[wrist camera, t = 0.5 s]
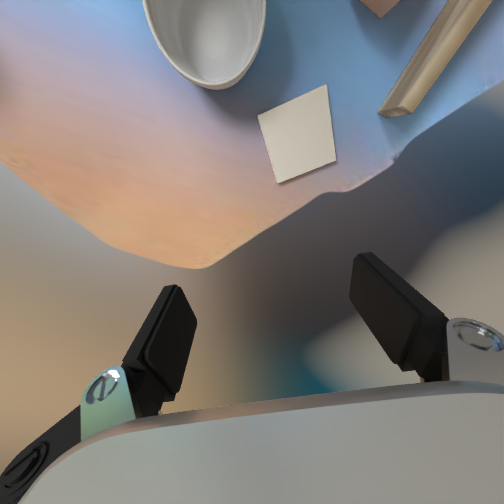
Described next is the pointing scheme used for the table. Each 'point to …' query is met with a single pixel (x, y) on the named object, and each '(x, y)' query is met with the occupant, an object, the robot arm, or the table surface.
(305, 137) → the display tile
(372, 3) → the marked cube
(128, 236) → the table surface
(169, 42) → the ramekin
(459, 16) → the wooden plank
